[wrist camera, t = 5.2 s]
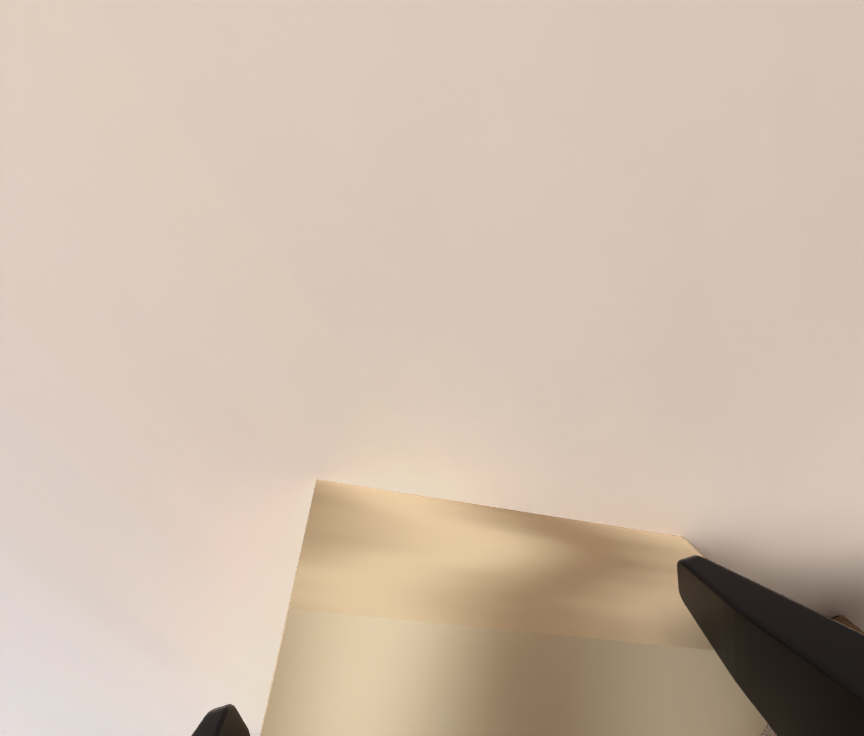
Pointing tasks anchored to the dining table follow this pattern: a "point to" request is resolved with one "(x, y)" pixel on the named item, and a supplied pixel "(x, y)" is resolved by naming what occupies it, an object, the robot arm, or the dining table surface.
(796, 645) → the robot arm
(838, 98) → the dining table surface
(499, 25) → the dining table surface
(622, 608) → the cream rectangular block
